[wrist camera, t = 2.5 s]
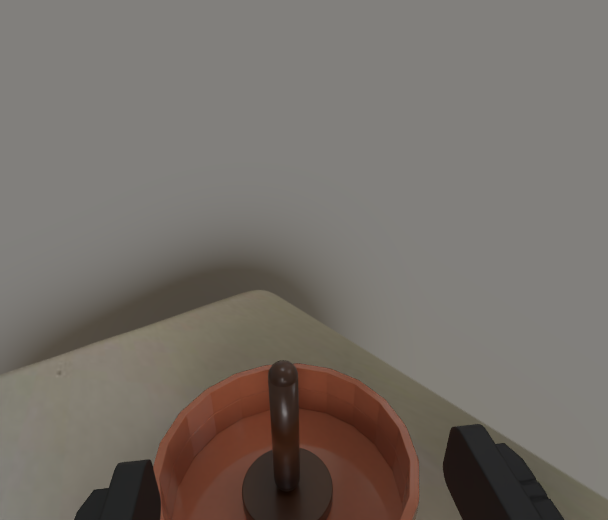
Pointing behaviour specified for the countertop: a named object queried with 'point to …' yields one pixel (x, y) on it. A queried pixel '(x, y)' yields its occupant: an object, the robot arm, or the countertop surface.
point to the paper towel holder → (286, 462)
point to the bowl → (312, 436)
